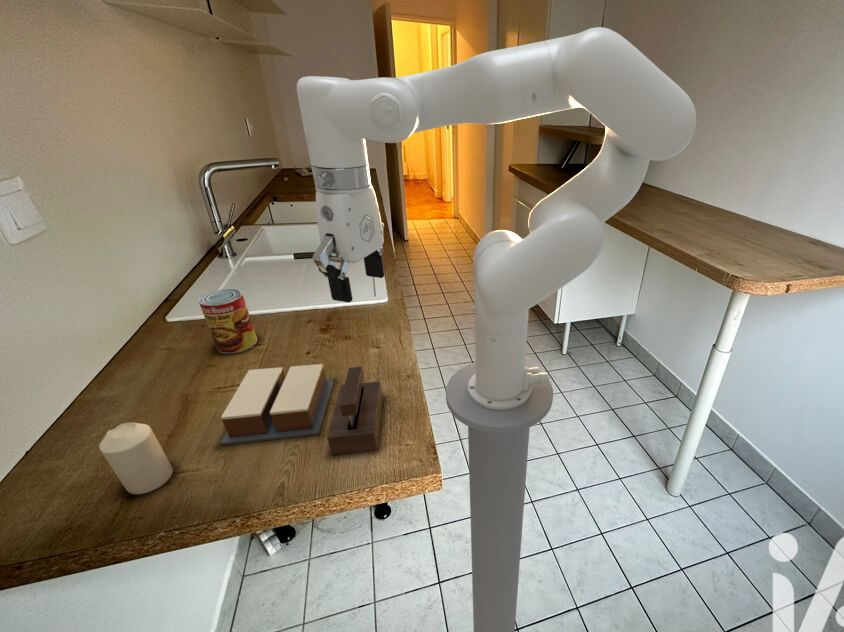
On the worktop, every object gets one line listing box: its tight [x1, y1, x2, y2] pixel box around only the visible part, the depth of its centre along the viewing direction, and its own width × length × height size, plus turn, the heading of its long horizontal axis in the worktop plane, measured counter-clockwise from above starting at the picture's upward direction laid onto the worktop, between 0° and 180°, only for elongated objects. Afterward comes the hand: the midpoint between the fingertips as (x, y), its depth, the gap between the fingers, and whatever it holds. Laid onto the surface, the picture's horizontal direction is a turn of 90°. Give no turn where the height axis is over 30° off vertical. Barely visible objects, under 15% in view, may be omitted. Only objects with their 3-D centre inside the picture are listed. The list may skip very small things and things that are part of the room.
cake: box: [220, 363, 335, 446], centre depth 74 cm, size 15×15×5 cm
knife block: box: [327, 381, 384, 456], centre depth 72 cm, size 13×7×4 cm, turn 11°
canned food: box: [198, 288, 258, 354], centre depth 90 cm, size 8×8×12 cm
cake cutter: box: [340, 366, 365, 430], centre depth 70 cm, size 10×2×9 cm, turn 11°
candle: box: [98, 421, 174, 495], centre depth 59 cm, size 6×6×10 cm
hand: (360, 287), depth 67 cm, fingers open, 9 cm apart
